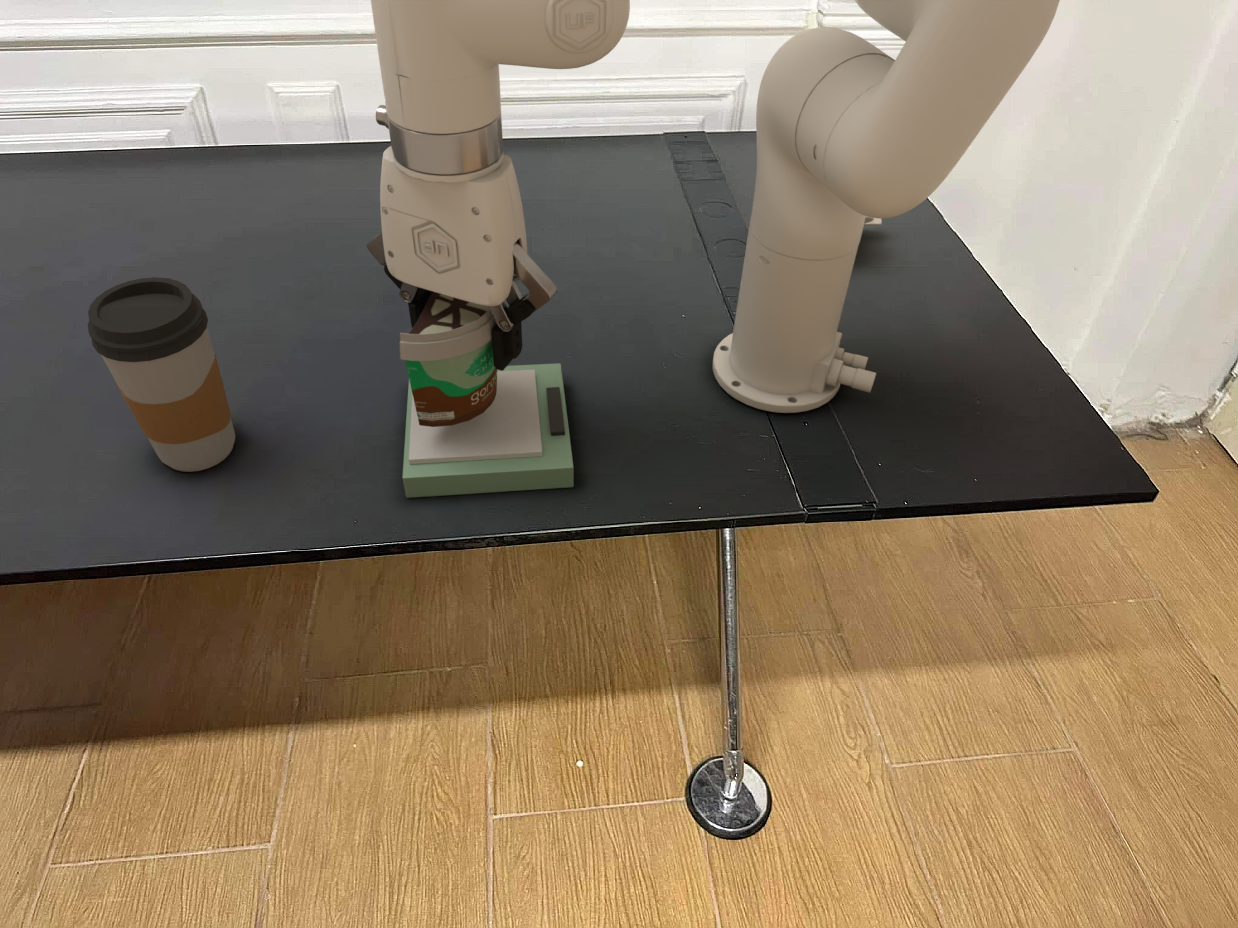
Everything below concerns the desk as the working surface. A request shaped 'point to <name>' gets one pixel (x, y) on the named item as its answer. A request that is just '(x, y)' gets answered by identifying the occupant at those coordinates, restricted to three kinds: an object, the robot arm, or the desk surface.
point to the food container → (450, 361)
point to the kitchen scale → (495, 441)
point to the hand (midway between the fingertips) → (467, 347)
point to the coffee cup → (165, 369)
